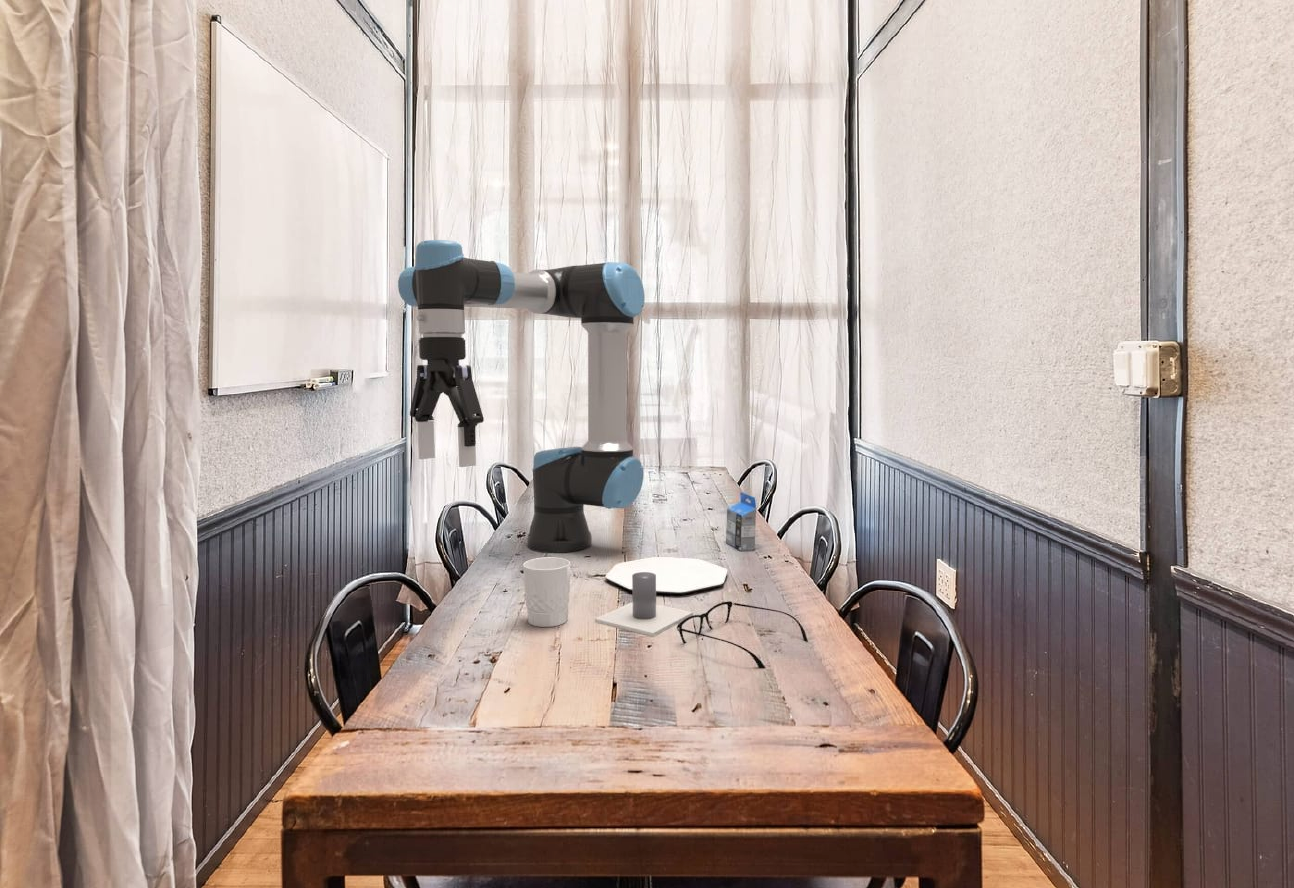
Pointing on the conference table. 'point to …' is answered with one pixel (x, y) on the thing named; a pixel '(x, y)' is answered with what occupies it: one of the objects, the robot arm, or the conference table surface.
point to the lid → (644, 610)
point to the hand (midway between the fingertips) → (446, 462)
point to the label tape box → (742, 524)
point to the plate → (670, 574)
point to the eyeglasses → (729, 604)
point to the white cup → (547, 590)
